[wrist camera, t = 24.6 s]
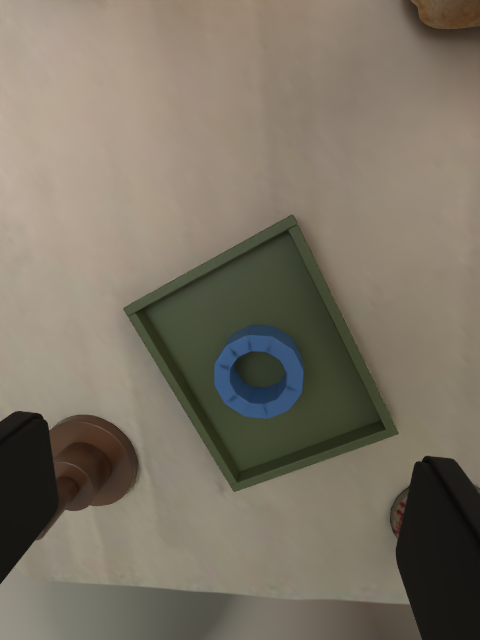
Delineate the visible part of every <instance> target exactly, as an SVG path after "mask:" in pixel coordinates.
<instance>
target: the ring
mask: <svg viewBox="0 0 480 640" xmlns="http://www.w3.org/2000/svg"><path fill="white" fill-rule="evenodd" d="M250 351H258V352H267V353H269V354H271V355H272V356H274V357H275V358H277V359H278V360H280V362H281V363H282V365H283V367H284V369H285V371H286V373H285V374H284V376H283V377H282V378H281V380H280V381H279V382H278V383H276V384H274V385H272V386H269V387H267V388H263V387H253V386H251V385H249V384H248V383H246V382H245V381H243V380H242V379H241V377H240V375H239V374H238V372H237V370H236V368H235V366H236V360H237V358H238V357H239V356H242V355H244V354H246V353H248V352H250ZM303 378H304V367H303V359H302V355H301V353H300V351H299V349H298V348H297V346H296V344H295V342H294V340H293V339H292V337H290V336H289V335H287V334H285V333H284V332H282V331H281V330H279V329H278V328H276V327H274V326H266V325H250V326H248V327H246V328H243V329H241V330H239V331H237V332H235V333H233V334H232V335H231V336H230V338H229V340H228V341H227V343H226V344H225V346H224V347H223V349H222V350H221V352H220V354H219V356H218V358H217V359H216V361H215V364H214V386H215V388H216V389H217V391H218V393H219V395H220V396H221V398H222V400H223V401H224V403H225V404H226V405H227V406H229V407H230V408H232V409H234V410H235V411H237V412H238V413H240V414H242V415H243V416H245V417H253V418H263V419H269V418H271V417H274V416H276V415H279V414H281V413H284V412H286V411H288V410H289V409H290V408H291V407H292V405H293V404H294V403H295V402H296V400H297V399H298V398H299V396H300V395H301V394H302V390H303Z"/></svg>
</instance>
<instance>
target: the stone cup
mask: <svg viewBox="0 0 480 640" xmlns="http://www.w3.org/2000/svg"><path fill="white" fill-rule="evenodd" d="M411 2H413V3H414V4H415V5H416V6H418V13H419V18H420V19H421V21H422V22H423V23H424V24H426V25H428V26H431V27H433V28H436V29H462V28H468V27H475V26H480V0H411Z"/></svg>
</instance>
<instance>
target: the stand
mask: <svg viewBox="0 0 480 640" xmlns="http://www.w3.org/2000/svg"><path fill="white" fill-rule="evenodd" d="M49 435H50V442H51V449H52V456H53V462H54V469H55V476H56V483H57V490H58V497H59V505H58V509H57V511H56V513H55V515H54V517H53V518H52V519H51V520H50V522H49V523H48V524H47V526H46V527H45V528H44V529H43V531H42V532H41V533H40V534H39V536H38V537H37V538H36V540H40V539H41V538H43V537H44V536H45V534H46V533H47V532H48V531H49V529H50V528H51V527H52V526H53V524H54V523H55V522H56V521H57V519H58V518H59V517H60V516H61V514H62V513H63V512H64V511H65V510H69V511H78V510H82V509H84V508H86V507H88V506H89V505H91V506H103V505H108V504H111V503H114V502H116V501H117V500H119V499H120V498H122V497H123V496H124V495H125V494H126V492H127V491H128V490H129V488H130V486H131V485H132V483H133V481H134V479H135V477H136V473H137V457H136V454H135V451H134V448H133V446H132V444H131V443H130V441H129V440H128V438H127V437H126V436H125V435H124V434H123V433H122V431H120V430H119V429H118V428H117V427H116V426H114V425H113V424H111V423H109V422H108V421H106V420H103V419H101V418H98V417H94V416H89V415H77V416H72V417H69V418H66V419H64V420H62V421H60V422H59V423H58V424H57V425H56V426H54V427H53V428H52V429H51V430H50V431H49Z"/></svg>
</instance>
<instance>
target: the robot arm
mask: <svg viewBox="0 0 480 640" xmlns="http://www.w3.org/2000/svg"><path fill="white" fill-rule="evenodd" d="M58 505H59V497H58V490H57V483H56V476H55V469H54V462H53V456H52V449H51V442H50V435H49V428H48V423H47V421H46V420H44V419H43V416H42V415H41V414H39V413H31V412H22V411H17V412H14V413H12V414H11V415H9V416H8V417H6V418H5V419H3V420H2V421H1V422H0V584H1V583H2V581H3V580H4V579H5V578H6V576H7V575H8V574H9V573H10V571H11V570H12V569H13V567H14V566H15V565H16V564H17V562H18V561H19V560H20V559H21V557H22V556H23V555H24V554H25V552H26V551H27V550H28V548H29V547H30V546H31V545H32V543H33V542H34V541H35V540H36V538H37V537H38V536H39V534H40V533H41V532H42V531H43V529H44V528H45V527H46V526H47V524H48V523H49V522H50V520H51V519H52V518H53V517H54V515H55V513H56V511H57V509H58ZM396 560H397V565H398V569H399V572H400V575H401V578H402V581H403V584H404V587H405V590H406V593H407V596H408V599H409V602H410V605H411V608H412V610H413V614H414V617H415V620H416V623H417V626H418V629H419V631H420V634H421V638H422V640H480V494H479V492H478V491H477V489H476V488H475V487H474V485H473V484H472V483H471V481H470V480H469V478H468V477H467V476H466V474H465V473H464V472H463V470H462V469H461V467H460V466H459V465H458V463H457V462H456V461H455V460H453V459H451V458H442V457H433V456H425V457H424V458H423V460H422V462H419V461H418V462H416V463H415V465H414V469H413V473H412V478H411V483H410V487H409V492H408V496H407V501H406V505H405V510H404V514H403V519H402V523H401V528H400V532H399V537H398V541H397V546H396Z"/></svg>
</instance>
